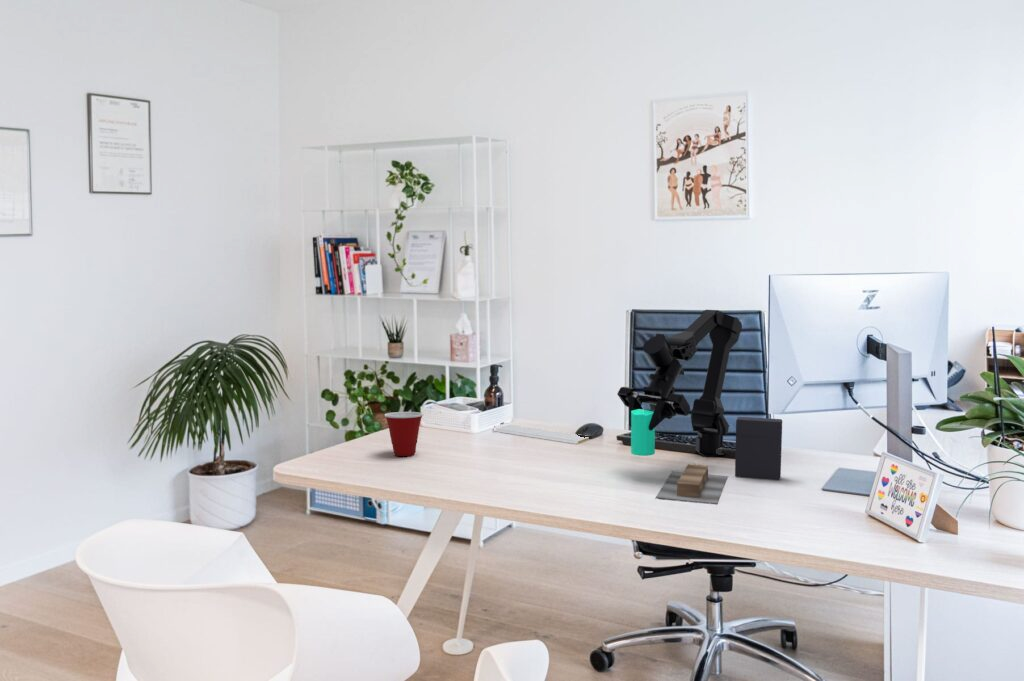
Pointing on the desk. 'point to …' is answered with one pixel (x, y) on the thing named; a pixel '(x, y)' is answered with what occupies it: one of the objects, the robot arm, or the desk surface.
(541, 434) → the baseboard
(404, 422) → the plastic cup
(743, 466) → the upright charcoal slab
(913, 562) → the desk surface
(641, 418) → the candle
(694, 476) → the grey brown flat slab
